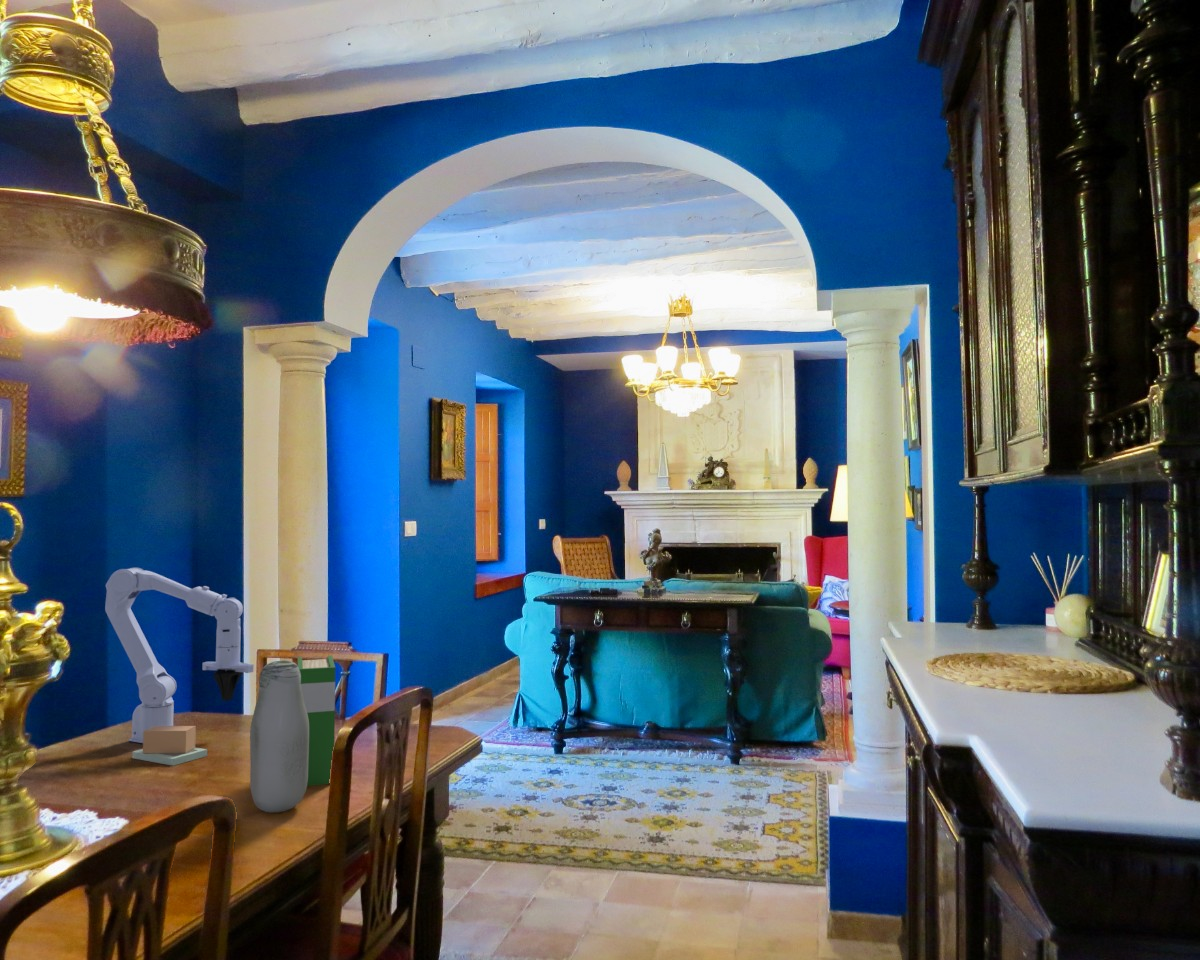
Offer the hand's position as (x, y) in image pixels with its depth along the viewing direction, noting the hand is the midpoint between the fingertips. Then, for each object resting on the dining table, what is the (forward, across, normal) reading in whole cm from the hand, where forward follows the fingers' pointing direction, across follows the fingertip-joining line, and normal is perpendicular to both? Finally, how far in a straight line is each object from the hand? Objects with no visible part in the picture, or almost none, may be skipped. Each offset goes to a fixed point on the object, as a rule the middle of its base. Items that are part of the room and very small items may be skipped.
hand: (227, 699), depth 218 cm
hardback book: (+10, +42, -20) cm, 47 cm away
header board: (+9, +2, -19) cm, 22 cm away
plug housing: (+8, +1, -20) cm, 21 cm away
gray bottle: (+10, +51, -42) cm, 67 cm away
